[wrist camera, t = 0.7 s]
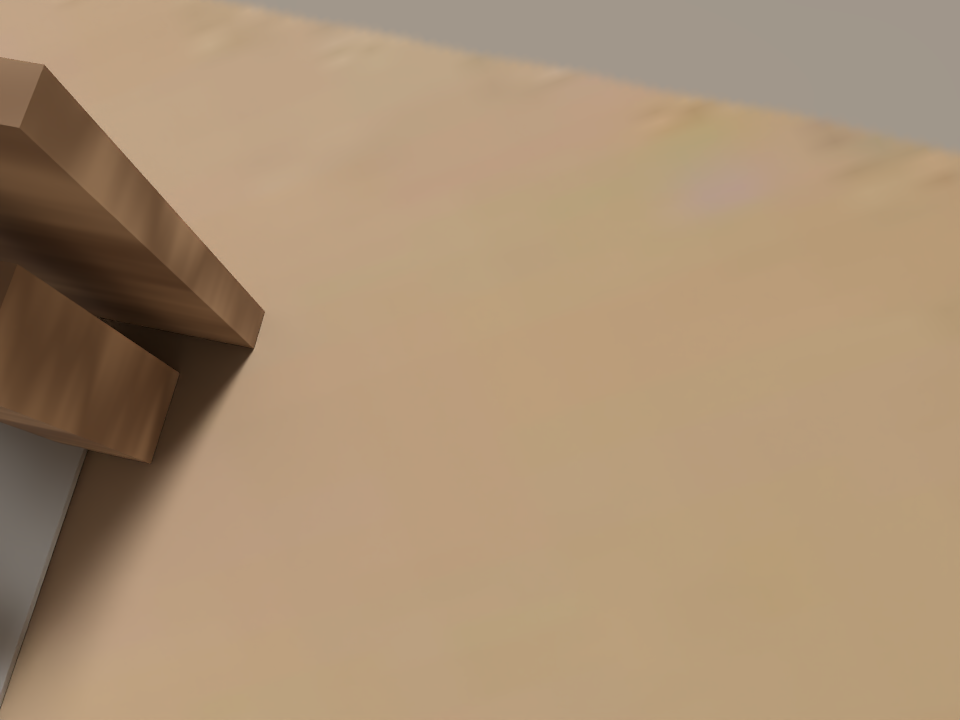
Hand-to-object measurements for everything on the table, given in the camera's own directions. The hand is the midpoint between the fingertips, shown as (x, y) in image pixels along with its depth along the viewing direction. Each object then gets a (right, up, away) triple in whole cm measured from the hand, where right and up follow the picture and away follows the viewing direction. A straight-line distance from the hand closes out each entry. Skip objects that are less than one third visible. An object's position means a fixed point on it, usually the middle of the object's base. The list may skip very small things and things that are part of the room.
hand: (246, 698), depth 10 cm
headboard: (-17, -3, +22) cm, 28 cm away
